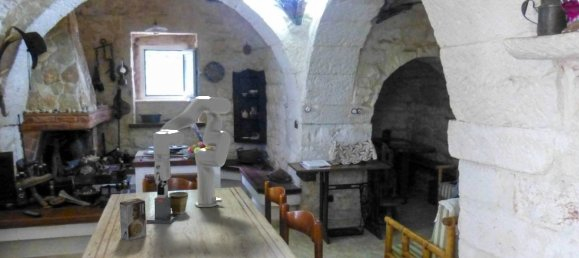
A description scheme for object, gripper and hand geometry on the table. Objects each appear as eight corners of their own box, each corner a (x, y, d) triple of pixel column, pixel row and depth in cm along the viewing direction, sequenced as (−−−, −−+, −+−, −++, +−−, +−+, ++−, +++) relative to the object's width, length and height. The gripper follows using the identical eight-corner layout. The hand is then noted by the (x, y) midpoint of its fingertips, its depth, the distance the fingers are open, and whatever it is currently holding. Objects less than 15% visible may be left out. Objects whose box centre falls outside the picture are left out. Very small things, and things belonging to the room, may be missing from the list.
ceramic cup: (192, 212, 240) (192, 193, 239) (175, 216, 232) (175, 197, 231) (178, 207, 248) (178, 189, 247) (162, 211, 241) (161, 192, 240)
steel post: (168, 214, 228) (167, 183, 227) (165, 217, 224) (164, 185, 223) (160, 214, 229) (160, 183, 227) (157, 216, 225) (156, 184, 223)
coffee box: (138, 232, 207) (137, 197, 205) (146, 235, 203) (145, 200, 201) (120, 237, 200) (119, 201, 198) (128, 241, 196) (127, 204, 194)
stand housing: (179, 216, 232) (178, 194, 231) (170, 223, 220) (169, 200, 219) (156, 215, 233) (155, 193, 232) (146, 222, 222) (145, 199, 220)
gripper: (162, 160, 215) (163, 198, 217) (175, 154, 231) (176, 190, 233) (147, 159, 216) (148, 197, 218) (161, 154, 232) (161, 189, 234)
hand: (162, 193), depth 225 cm, fingers closed on steel post, 4 cm apart
